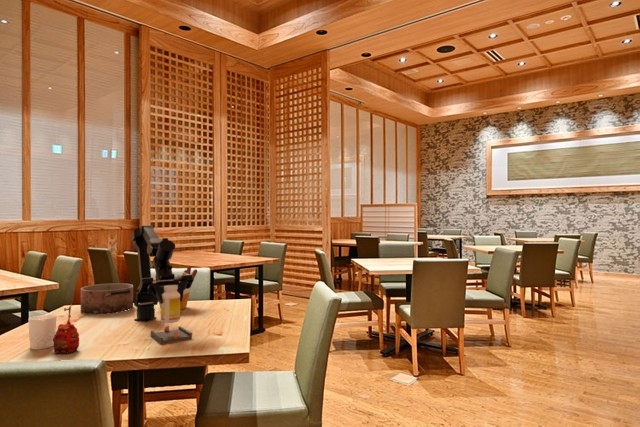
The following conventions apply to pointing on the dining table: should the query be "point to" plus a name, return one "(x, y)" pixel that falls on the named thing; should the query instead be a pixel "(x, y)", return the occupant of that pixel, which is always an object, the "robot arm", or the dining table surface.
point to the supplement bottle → (170, 304)
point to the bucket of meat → (186, 291)
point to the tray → (171, 335)
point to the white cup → (42, 331)
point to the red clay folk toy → (66, 337)
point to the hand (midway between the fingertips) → (171, 302)
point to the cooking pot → (106, 298)
